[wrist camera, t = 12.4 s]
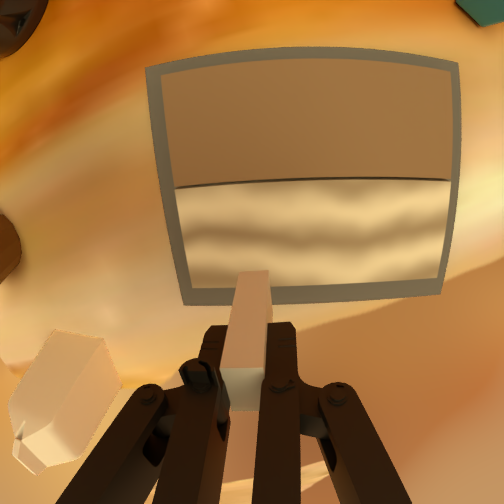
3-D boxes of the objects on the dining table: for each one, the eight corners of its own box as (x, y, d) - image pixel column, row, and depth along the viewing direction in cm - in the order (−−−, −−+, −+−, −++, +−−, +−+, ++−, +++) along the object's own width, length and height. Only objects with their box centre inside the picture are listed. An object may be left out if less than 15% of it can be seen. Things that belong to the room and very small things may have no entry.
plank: (180, 185, 33) (174, 189, 32) (443, 177, 30) (451, 181, 28) (196, 279, 38) (192, 288, 37) (430, 269, 35) (436, 277, 33)
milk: (122, 384, 52) (71, 495, 29) (76, 373, 53) (21, 469, 30) (103, 338, 47) (30, 460, 23) (55, 329, 48) (-19, 430, 24)
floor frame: (148, 68, 29) (137, 65, 26) (453, 63, 25) (466, 61, 22) (185, 301, 41) (179, 314, 39) (437, 290, 37) (445, 302, 35)
